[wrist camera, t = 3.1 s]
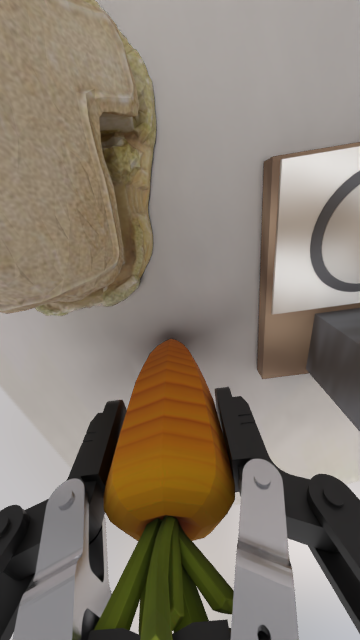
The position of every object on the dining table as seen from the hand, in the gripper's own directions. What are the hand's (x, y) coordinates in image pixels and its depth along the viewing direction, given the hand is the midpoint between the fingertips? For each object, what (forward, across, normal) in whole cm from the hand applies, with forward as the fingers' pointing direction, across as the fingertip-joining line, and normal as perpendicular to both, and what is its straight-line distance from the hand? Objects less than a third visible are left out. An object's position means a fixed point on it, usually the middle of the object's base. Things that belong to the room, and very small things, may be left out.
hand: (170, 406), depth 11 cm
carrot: (+7, 0, 0) cm, 7 cm away
